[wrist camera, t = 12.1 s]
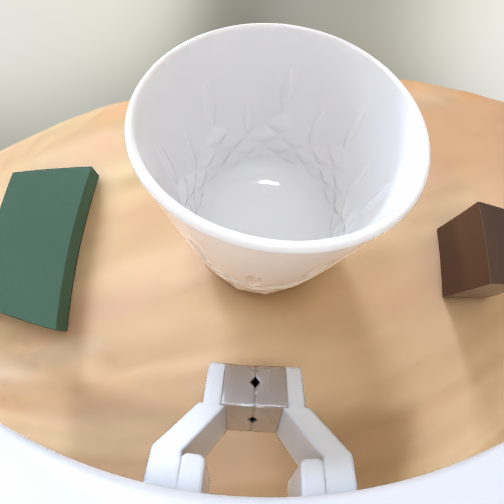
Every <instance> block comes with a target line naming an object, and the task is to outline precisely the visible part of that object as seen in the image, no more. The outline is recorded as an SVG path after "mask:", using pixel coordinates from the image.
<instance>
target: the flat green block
mask: <svg viewBox="0 0 504 504" xmlns="http://www.w3.org/2000/svg"><path fill="white" fill-rule="evenodd" d="M98 177H99V175H98V174H97V173H96V171H95V170H94V169H93V168H92V167H73V168H58V169H45V170H34V171H24V172H15V173H13V174H12V176H11V179H10V182H9V184H8V187H7V190H6V193H5V196H4V199H3V202H2V205H1V208H0V313H3V314H5V315H8V316H11V317H14V318H17V319H20V320H23V321H26V322H30V323H33V324H36V325H39V326H43V327H46V328H50V329H53V330H59V331H67V324H68V315H69V307H70V299H71V292H72V286H73V279H74V274H75V268H76V263H77V258H78V253H79V248H80V243H81V239H82V234H83V230H84V226H85V222H86V218H87V214H88V210H89V207H90V203H91V200H92V196H93V193H94V189H95V186H96V183H97V180H98Z"/></svg>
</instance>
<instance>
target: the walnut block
mask: <svg viewBox="0 0 504 504" xmlns="http://www.w3.org/2000/svg"><path fill="white" fill-rule="evenodd" d="M437 231H438V239H439V248H440V259H441V272H442V291H443V297H490V296H494V295H498V294H501V293H504V209H502V208H499V207H496V206H492V205H489V204H485V203H482V202H477V203H475V204H474V205H473V206H471V207H470V208H468V209H467V210H465V211H464V212H462V213H461V214H459V215H458V216H456V217H455V218H453V219H452V220H450V221H449V222H447V223H446V224H444V225H443V226H441V227H440V228H438V229H437Z"/></svg>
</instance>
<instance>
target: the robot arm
mask: <svg viewBox="0 0 504 504" xmlns="http://www.w3.org/2000/svg"><path fill="white" fill-rule="evenodd" d="M226 430H233V431H255V432H275V433H276V435H277V436H278V438H279V439H280V441H281V442H282V444H283V445H284V447H285V448H286V450H287V451H288V453H289V454H290V456H291V457H292V459H293V460H294V461H295V463H296V464H297V466H298V468H297V469H296V471H295V472H294V473H293V475H292V476H291V478H290V479H289V480H288V482H287V497H242V496H227V495H216V494H209V483H210V478H209V474H208V470H207V466H206V462H205V459H204V457H205V456H206V455H207V454H208V453H209V451H210V450H211V449H212V448H213V447H214V446H215V444H216V443H217V442H218V441H219V440H220V438H221V437H222V436H223V435H224V433H225V432H226ZM0 504H504V441H503V442H502V443H500V444H498V445H496V446H494V447H492V448H490V449H488V450H485V451H483V452H481V453H479V454H477V455H474V456H472V457H470V458H467V459H465V460H463V461H460V462H458V463H455V464H452V465H450V466H447V467H444V468H441V469H439V470H436V471H433V472H430V473H427V474H423V475H420V476H417V477H413V478H410V479H406V480H402V481H398V482H394V483H390V484H386V485H381V486H377V487H372V488H366V489H361V490H357V483H356V475H355V469H354V462H353V456H352V453H351V452H350V451H349V450H348V449H347V448H346V447H345V446H344V445H343V444H342V443H341V442H340V441H339V440H338V438H337V437H336V436H335V435H334V434H333V433H332V432H331V431H330V430H329V429H328V428H327V426H326V425H325V424H324V423H323V422H322V421H321V420H320V419H319V418H318V416H317V415H316V414H315V413H314V412H313V411H312V410H311V408H306V407H305V397H304V388H303V379H302V370H301V368H300V367H280V366H245V365H234V364H225V363H214V362H210V365H209V369H208V374H207V380H206V386H205V392H204V398H203V403H200V402H198V403H197V404H196V405H195V406H194V407H193V408H192V409H191V410H190V411H189V412H188V413H187V414H186V415H185V416H183V417H182V418H181V419H180V420H179V421H178V422H177V423H176V424H175V425H174V426H173V427H172V428H171V429H169V430H168V431H167V432H166V433H165V434H164V435H163V436H162V437H161V438H160V439H158V440H157V441H156V442H155V443H154V444H153V445H152V447H151V451H150V455H149V459H148V464H147V468H146V472H145V477H144V481H143V482H141V481H137V480H133V479H130V478H126V477H123V476H119V475H116V474H113V473H109V472H106V471H103V470H100V469H97V468H94V467H92V466H89V465H86V464H83V463H81V462H78V461H76V460H73V459H71V458H68V457H66V456H64V455H61V454H59V453H57V452H54V451H52V450H50V449H48V448H46V447H44V446H42V445H40V444H38V443H36V442H34V441H32V440H30V439H28V438H26V437H24V436H22V435H20V434H19V433H17V432H15V431H13V430H12V429H10V428H8V427H6V426H5V425H3V424H1V423H0Z"/></svg>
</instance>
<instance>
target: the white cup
mask: <svg viewBox="0 0 504 504" xmlns="http://www.w3.org/2000/svg"><path fill="white" fill-rule="evenodd" d="M124 134H125V144H126V149H127V153H128V157H129V160H130V162H131V165H132V167H133V169H134V171H135V173H136V175H137V177H138V178H139V180H140V181H141V183H142V184H143V186H144V187H145V189H146V190H147V191H148V192H149V194H150V195H151V196H152V198H153V199H154V200H155V202H156V203H157V204H158V206H159V207H160V208H161V209H162V211H163V212H164V213H165V215H166V216H167V217H168V219H169V220H170V221H171V222H172V224H173V225H174V226H175V228H176V229H177V230H178V232H179V233H180V234H181V236H182V237H183V238H184V240H185V241H186V242H187V243H188V245H189V246H190V247H191V248H192V250H193V251H194V252H195V253H196V254H197V255H198V256H199V257H200V258H201V260H202V261H203V262H204V263H205V264H206V265H207V266H208V267H209V268H210V269H212V271H213V272H214V273H216V274H217V275H218V276H220V277H221V278H223V279H224V280H225V281H227V282H228V283H229V284H231V285H232V286H234V287H235V288H236V289H239V290H244V291H250V292H256V293H261V294H270V293H274V292H277V291H281V290H284V289H288V288H291V287H294V286H296V285H298V284H301V283H303V282H305V281H307V280H309V279H311V278H313V277H314V276H316V275H318V274H320V273H322V272H324V271H326V270H327V269H329V268H331V267H332V266H334V265H335V264H337V263H338V262H340V261H341V260H343V259H345V258H346V257H348V256H349V255H351V254H352V253H354V252H355V251H357V250H358V249H360V248H361V247H363V246H364V245H366V244H368V243H369V242H371V241H372V240H374V239H375V238H377V237H378V236H380V235H381V234H383V233H384V232H386V231H387V230H389V229H390V228H392V227H393V226H394V225H396V224H397V223H398V222H399V221H400V220H401V219H403V218H404V217H405V216H406V215H407V214H408V212H409V211H410V210H411V209H412V208H413V206H414V205H415V203H416V202H417V200H418V199H419V197H420V195H421V193H422V191H423V189H424V187H425V184H426V181H427V178H428V174H429V169H430V159H431V151H430V141H429V135H428V131H427V128H426V124H425V122H424V119H423V116H422V114H421V112H420V110H419V108H418V106H417V104H416V102H415V101H414V99H413V98H412V96H411V95H410V93H409V92H408V90H407V89H406V88H405V86H404V85H403V84H402V83H401V82H400V81H399V79H398V78H397V77H396V76H395V75H394V74H393V73H392V72H391V71H390V70H389V69H387V68H386V67H385V66H384V65H383V64H382V63H380V62H379V61H378V60H376V59H375V58H373V57H372V56H371V55H369V54H368V53H366V52H364V51H363V50H362V49H360V48H358V47H356V46H355V45H353V44H351V43H349V42H347V41H344V40H342V39H340V38H338V37H335V36H332V35H330V34H327V33H324V32H321V31H317V30H313V29H310V28H305V27H300V26H295V25H287V24H276V23H253V24H242V25H235V26H230V27H225V28H221V29H217V30H214V31H210V32H208V33H204V34H202V35H199V36H197V37H195V38H192V39H190V40H188V41H187V42H184V43H182V44H181V45H179V46H177V47H176V48H174V49H173V50H171V51H170V52H168V53H167V54H166V55H164V56H163V57H162V58H161V59H159V60H158V61H157V62H156V63H155V64H154V65H153V66H152V67H151V68H150V69H149V70H148V72H147V73H146V74H145V75H144V77H143V78H142V79H141V81H140V82H139V84H138V85H137V87H136V89H135V91H134V93H133V95H132V97H131V99H130V102H129V105H128V108H127V112H126V117H125V128H124Z"/></svg>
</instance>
